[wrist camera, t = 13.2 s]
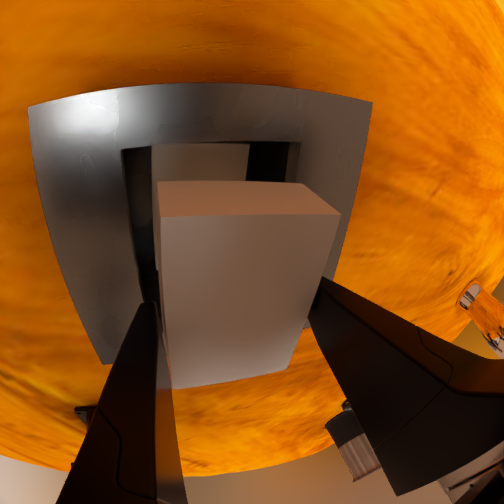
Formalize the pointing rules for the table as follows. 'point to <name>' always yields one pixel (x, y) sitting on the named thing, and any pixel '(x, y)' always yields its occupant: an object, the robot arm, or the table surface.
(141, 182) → the grey hollow block
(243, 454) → the table surface
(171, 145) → the block
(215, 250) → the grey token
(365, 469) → the milk frother
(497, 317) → the beer glass
